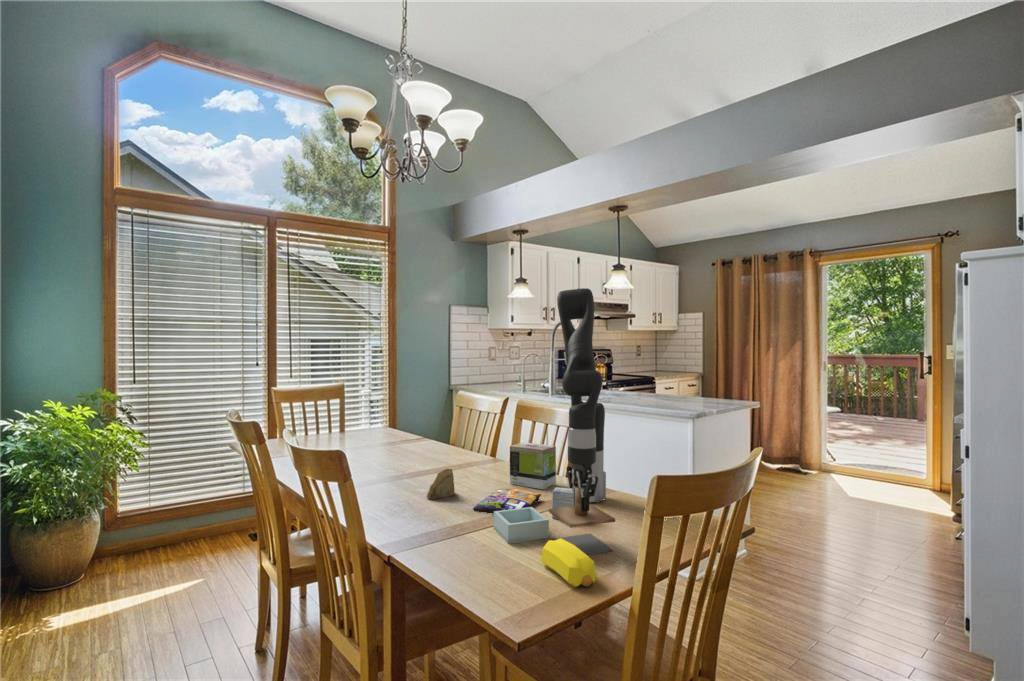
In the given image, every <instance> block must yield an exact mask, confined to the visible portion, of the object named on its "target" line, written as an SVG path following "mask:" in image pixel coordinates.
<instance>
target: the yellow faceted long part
mask: <svg viewBox="0 0 1024 681" xmlns="http://www.w3.org/2000/svg"><path fill="white" fill-rule="evenodd" d="M559 538H560V539H557V540H555V541H552V539H551V540H548V541H547V542H546V543H545V545H544V546H543V547H542V552H541V560H540V562H541V563H542V564H543V565H545V567H547V568H549V569H550V570H552V571H554V572H555V573H557V574H559V575H560V577H561V578H563V579H564V580H565V581H566V582H567V583H568V584H569V585H570V586H571V587H572V588H577V587H578V586H580V585H581V586H583V587H590V586H591V585H592V584H593V583H595V581H596V578H597V572H596V566H595V565H596V564H595V561H594V560H593V559H592V558H591V557H590V556H589V555H586V554H585V553H583V552H582V551H581V550H580V549H578V548H577V547H576V546H575V545H573V544H571V543H569V542H567V541H565V540H563V539H561V538H562V537H559Z"/></svg>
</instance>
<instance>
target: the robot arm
mask: <svg viewBox="0 0 1024 681" xmlns="http://www.w3.org/2000/svg"><path fill="white" fill-rule="evenodd" d="M556 302H557V309H558V311H557V312H558V316H559V321H560V326H561V331H562V337H563V342H564V353H565V354H564V356H565V364H566V365H565V366H566V369H565V372H564V375H563V376H562V384H561V386H562V390H563V392H564V393H565V394H566V395H567V396H570V403H571V405H570V407H569V408H568V410H569V411H568V432H567V461H568V463H570V464H571V465H570V466H566V474H567V481H568V486H569V487H568V488H570V489H572V491H573V493H574V506H575V487H576V486H578V487H579V488H580V491H581V511H583V512H586V511H589V504H592V503H591V502H597V503H600V502H599V501H601V502H603V501H604V500H603V499H606V500H607V498H606V496H607V491H606V490H607V487H606V485H607V473H606V471H604V463H605V462H604V461H605V460H604V456H605V455H604V453H605V452H604V450H605V449H604V443H605V442H604V441H605V420H606V419H605V417H606V412H605V411H606V410H605V409H606V408H605V406H604V404H603V403H601V402H598V400H599V399H600V398H599V397H600V394H601V391H602V388H603V387H602V386H603V376H602V375H601V373H600V372H599V371H598V370H597V369H596V361H595V353H594V346H593V335H594V334H593V333H594V325H595V324H594V323H595V300H594V295H593V292H592V290H591V289H590V288H588V287H587V288H586V287H585V288H574V289H566V290H565V289H564V290H561V291H559V292H558V293H557V296H556ZM581 319H582V321H581V322H580V324H578V326H577V328H575V327H574V324H573V322H572V320H581ZM582 397H588V399H587V400H586V401H583V398H582ZM584 488H585V492H584ZM602 500H603V501H602ZM589 502H590V503H589Z"/></svg>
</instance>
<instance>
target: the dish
mask: <svg viewBox="0 0 1024 681" xmlns="http://www.w3.org/2000/svg"><path fill="white" fill-rule="evenodd" d="M549 522H550V520H549V519H548V518H547V517H546V516H545V515H543V514H542V513H540V512H539V511H538V510H537V509H536V508H534V507H533V506H529V507H527V508H518V509H510V510H501V511H494V514H493V530H495V532H496V533H497V534H498V535H499V536H500V537H501V538H502V539H503V540H504V541H505V542H506V543H507V544H508V545H509V544H514V543H520V542H530V541H535V540H543V539H549V538H550V537H549V536H550V535H549V533H550V532H549V530H550V526H549V524H550V523H549Z"/></svg>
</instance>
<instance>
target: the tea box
mask: <svg viewBox="0 0 1024 681" xmlns="http://www.w3.org/2000/svg"><path fill="white" fill-rule="evenodd" d="M556 447H557V446H556V445H552V444H551V445H550V444H542V443H534V442H524V441H522V442H518V443H515V444H512V445H509V484H510V485H514V486H521V487H527V488H532V489H539V490H543V489H544V490H546V489H548V488H547V487H549V486H551V485H553V484H555V485H556V482H557V480H556V479H557V476H556V475H557V455H556V454H557V453H556V452H557V451H556V450H557V448H556ZM553 486H554V485H553ZM551 487H552V486H551ZM549 488H550V487H549Z"/></svg>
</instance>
